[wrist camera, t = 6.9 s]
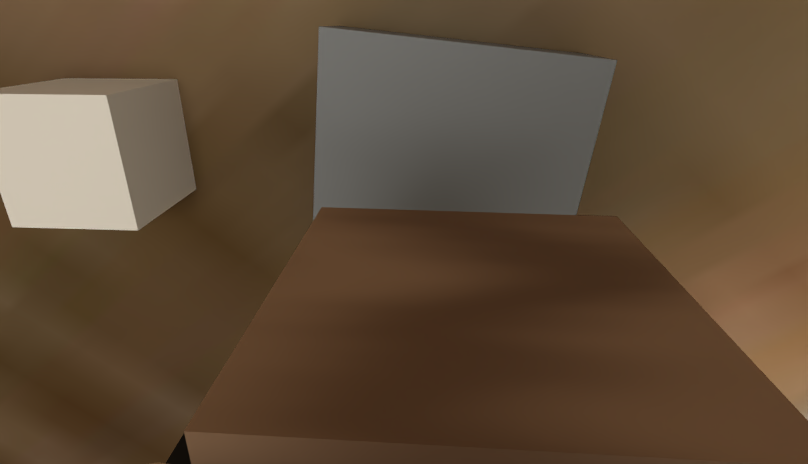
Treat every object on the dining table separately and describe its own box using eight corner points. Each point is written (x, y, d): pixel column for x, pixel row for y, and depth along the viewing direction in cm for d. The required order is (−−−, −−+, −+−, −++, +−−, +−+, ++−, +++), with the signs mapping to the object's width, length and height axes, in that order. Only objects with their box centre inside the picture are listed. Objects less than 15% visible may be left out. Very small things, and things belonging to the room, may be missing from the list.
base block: (581, 53, 24) (617, 60, 19) (531, 267, 29) (549, 313, 24) (340, 25, 24) (318, 26, 19) (330, 243, 29) (311, 285, 24)
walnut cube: (616, 216, 10) (853, 468, 4) (572, 439, 12) (685, 785, 7) (321, 206, 10) (182, 431, 5) (335, 426, 12) (255, 747, 7)
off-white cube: (177, 78, 25) (106, 95, 20) (196, 188, 28) (137, 230, 22) (66, 77, 25) (-35, 93, 20) (95, 186, 28) (12, 227, 22)
